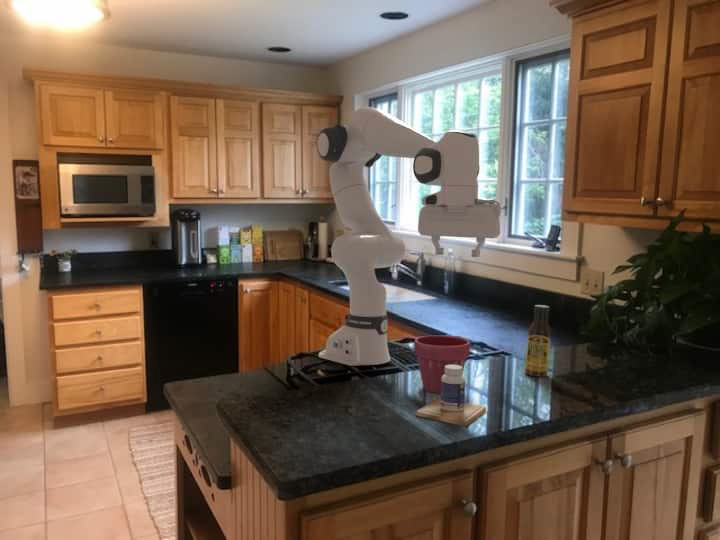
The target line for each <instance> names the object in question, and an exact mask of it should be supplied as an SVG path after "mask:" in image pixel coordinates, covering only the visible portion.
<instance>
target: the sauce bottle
mask: <svg viewBox="0 0 720 540" xmlns="http://www.w3.org/2000/svg"><path fill="white" fill-rule="evenodd" d="M533 308H534V309H533V311H534V316H533V321H532V323H530V325H529V327H528V336H527V344H526V354H525V366H524V367H525V370H524V372H525V374H526V375H529V376H531V377H539V378H540V377H541V378H544V377H546V376H547V375H548V371H549V361H550V360H549V359H550V351H551V350H550V349H551V335H552V328H551V327H550V324H549V313H550V306H548V305H544V304H535V305H534V307H533Z"/></svg>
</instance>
